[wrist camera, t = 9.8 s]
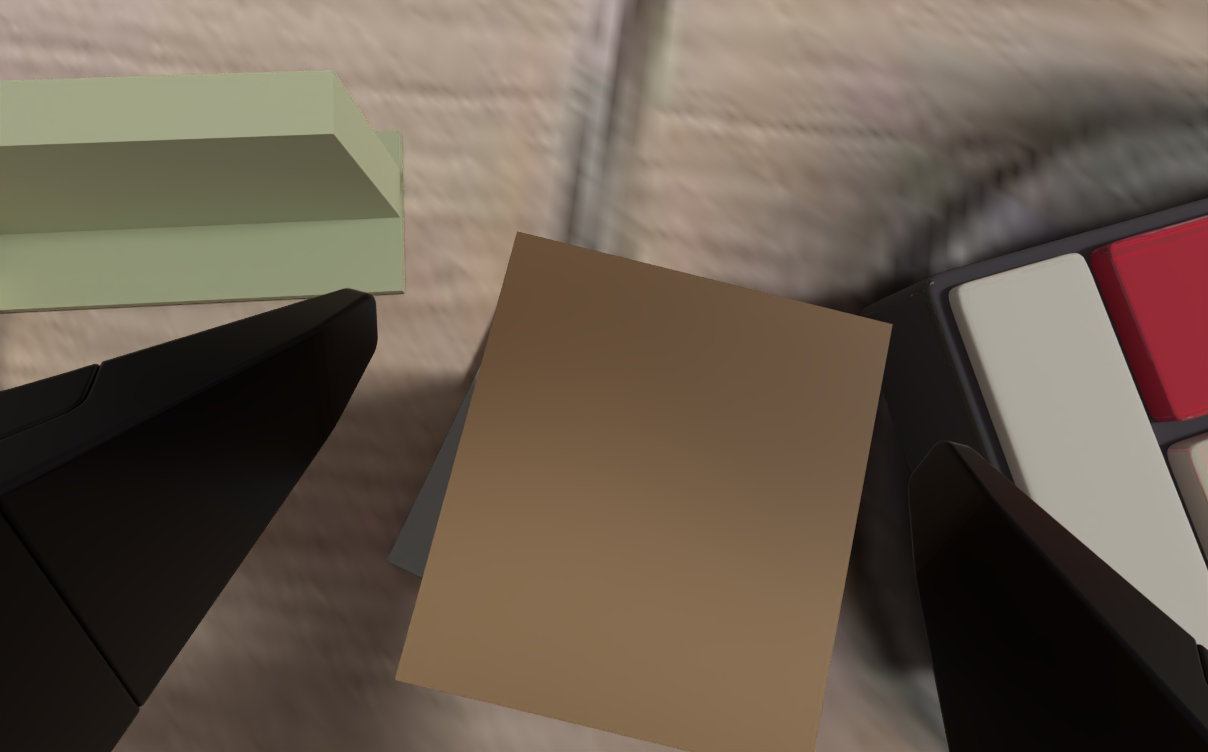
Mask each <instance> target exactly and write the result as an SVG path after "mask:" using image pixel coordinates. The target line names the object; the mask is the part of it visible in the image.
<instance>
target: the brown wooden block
mask: <svg viewBox="0 0 1208 752" xmlns="http://www.w3.org/2000/svg"><path fill="white" fill-rule="evenodd" d="M892 325H893V324H889V323H885V322H881V321H877V320H873V319H869V318H865V317H861V316H857V315H853V314H849V313H845V312H841V311H837V310H833V309H829V308H825V307H821V306H817V305H813V304H809V303H805V302H800V301H796V300H792V299H788V298H784V297H780V296H776V295H772V294H768V293H764V292H760V291H756V290H752V289H748V288H744V287H740V286H736V285H732V284H728V283H724V282H720V281H716V280H712V279H707V278H703V277H699V276H695V275H691V274H687V273H683V272H679V271H675V270H671V269H667V268H663V267H659V266H655V265H651V264H647V263H643V262H639V261H635V260H631V259H627V258H623V257H619V256H615V255H610V254H606V253H602V252H598V251H594V250H590V249H586V248H582V247H578V246H574V245H570V244H566V243H562V242H558V241H554V240H550V239H546V238H542V237H538V236H534V235H530V234H526V233H522V232H517V234H516V238H515V241H514V245H513V249H512V252H511V256H510V260H509V263H508V267H507V271H506V274H505V278H504V282H503V285H502V289H501V293H500V296H499V300H498V304H497V307H496V311H495V315H494V318H493V322H492V326H491V329H490V333H489V337H488V340H487V344H486V348H485V351H484V355H483V359H482V362H481V366H480V369H479V373H478V377H477V380H476V384H475V388H474V391H473V395H472V399H471V402H470V406H469V410H468V413H467V417H466V421H465V424H464V428H463V432H462V435H461V439H460V443H459V446H458V450H457V454H456V457H455V461H454V465H453V468H452V472H451V476H450V479H449V483H448V487H447V490H446V494H445V498H444V501H443V505H442V508H441V512H440V516H439V519H438V523H437V527H436V530H435V534H434V538H433V541H432V545H431V549H430V552H429V556H428V560H427V563H426V567H425V571H424V574H423V578H422V582H421V585H420V589H419V593H418V596H417V600H416V604H415V607H414V611H413V615H412V618H411V622H410V626H409V629H408V633H407V637H406V640H405V644H404V647H403V651H402V655H401V658H400V662H399V666H398V669H397V673H396V677H395V680H397V681H401V682H405V683H410V684H414V685H418V686H422V687H426V688H430V689H434V690H438V691H442V692H447V693H451V694H455V695H459V696H463V697H467V698H471V699H475V700H480V701H484V702H488V703H492V704H496V705H500V706H504V707H508V708H512V709H517V710H521V711H525V712H529V713H533V714H537V715H541V716H545V717H549V718H554V719H558V720H562V721H566V722H570V723H574V724H578V725H582V726H587V727H591V728H595V729H599V730H603V731H607V732H611V733H615V734H619V735H624V736H628V737H632V738H636V739H640V740H644V741H648V742H652V743H657V744H661V745H665V746H669V747H673V748H677V749H681V750H685V751H689V752H814V749H815V744H816V738H817V733H818V727H819V722H820V716H821V711H822V706H823V700H824V695H825V689H826V684H827V678H828V673H829V668H830V662H831V657H832V651H833V646H834V640H835V635H836V629H837V624H838V619H839V613H840V608H841V602H842V597H843V591H844V586H845V581H846V575H847V570H848V564H849V559H850V553H851V548H852V543H853V537H854V532H855V526H856V521H857V515H858V510H859V504H860V499H861V494H862V488H863V483H864V477H865V472H866V466H867V461H868V456H869V450H870V445H871V439H872V434H873V428H874V423H875V417H876V412H877V407H878V401H879V396H880V390H881V385H882V379H883V374H884V369H885V363H886V358H887V352H888V347H889V341H890V336H891V330H892Z"/></svg>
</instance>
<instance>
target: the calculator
mask: <svg viewBox="0 0 1208 752" xmlns="http://www.w3.org/2000/svg"><path fill="white" fill-rule="evenodd" d="M859 316H861V317H865V318H869V319H873V320H877V321H881V322H885V323H889V324H893V325H892V330H891V336H890V341H889V347H888V352H887V358H886V363H885V369H884V374H883V379H882V385H881V387H882V390H883V393H884V396H885V399H886V402H887V405H888V408H889V411H890V413H891V416H892V419H893V422H894V425H895V428H896V431H897V434H898V436H899V439H900V442H901V445H902V448H903V451H904V454H905V457H906V459H907V462H908V465H909V468H910V471H911V474H912V473H913V472H914V470H915V469H916V468H917V466H918V465H919V464H920V463H921V461H922V460H923V459H924V458H925V456H926V455H927V454H928V453H929V451H930V450H931V449H932V447H933V446H934V445H935V444H936V443H938V442H940V441H944V440H947V441H951V442H955V443H959V444H963V445H967V446H969V447H971V448H972V449H973V450H975V451H976V452H977V453H978V454H979V455H981V456H982V457H983V458H984V459H985V460H986V461H988V462H989V463H990V464H991V465H992V466H993V467H995V468H996V469H997V470H998V471H999V472H1000V473H1002V474H1003V475H1004V476H1005V477H1006V478H1007V479H1009V480H1010V481H1011V482H1012V483H1013V484H1014V485H1016V486H1017V487H1018V488H1019V489H1020V490H1021V491H1023V492H1024V493H1025V494H1026V495H1027V496H1028V497H1030V498H1031V499H1032V500H1033V501H1034V502H1035V503H1037V504H1038V505H1039V506H1040V507H1041V508H1043V509H1044V510H1045V511H1046V512H1047V513H1048V514H1050V515H1051V516H1052V517H1053V518H1054V519H1055V520H1057V521H1058V522H1059V523H1060V524H1061V525H1062V526H1064V527H1065V528H1066V529H1067V530H1068V531H1069V532H1071V533H1072V534H1073V535H1074V536H1075V537H1076V538H1078V539H1079V540H1080V541H1081V542H1082V543H1083V544H1085V545H1086V546H1087V547H1088V548H1089V549H1090V550H1092V551H1093V552H1094V553H1095V554H1096V555H1097V556H1099V557H1100V558H1101V559H1102V560H1103V561H1104V562H1106V563H1107V564H1108V565H1109V566H1110V567H1112V568H1113V569H1114V570H1115V571H1116V572H1117V573H1119V574H1120V575H1121V576H1122V577H1123V578H1124V579H1126V580H1127V581H1128V582H1129V583H1130V584H1131V585H1133V586H1134V587H1135V588H1136V589H1137V590H1138V591H1140V592H1141V593H1142V594H1143V595H1144V596H1145V597H1147V598H1148V599H1149V600H1150V601H1151V602H1152V603H1154V604H1155V605H1156V606H1157V607H1158V608H1159V609H1161V610H1162V611H1163V612H1164V613H1165V614H1166V615H1168V616H1169V617H1170V618H1171V619H1172V620H1173V621H1175V622H1176V623H1177V624H1178V625H1179V626H1181V627H1182V628H1183V629H1184V630H1185V631H1186V632H1188V633H1189V634H1190V635H1191V636H1192V637H1193V638H1194V639H1195V640H1196V643H1197V644H1201V645H1203V646H1204V647H1205V648H1206V649H1208V198H1205V199H1202V200H1198V201H1195V202H1191V203H1188V204H1184V205H1180V206H1177V207H1173V208H1170V209H1166V210H1163V211H1159V212H1155V213H1152V214H1148V215H1145V216H1141V217H1138V218H1134V219H1131V220H1127V221H1123V222H1120V223H1116V224H1113V225H1109V226H1106V227H1102V228H1098V229H1095V230H1091V231H1088V232H1084V233H1081V234H1077V235H1074V236H1070V237H1066V238H1063V239H1059V240H1056V241H1052V242H1049V243H1045V244H1041V245H1038V246H1034V247H1031V248H1027V249H1024V250H1020V251H1016V252H1013V253H1009V254H1006V255H1002V256H999V257H995V258H992V259H988V260H984V261H981V262H977V263H974V264H970V265H967V266H963V267H959V268H956V269H952V270H949V271H945V272H942V273H939V274H936V275H933V276H931V277H928V278H926V279H924V280H922V281H920V282H918V283H915V284H913V285H911V286H909V287H907V288H905V289H903V290H900V291H898V292H896V293H894V294H892V295H890V296H887V297H885V298H883V299H881V300H879V301H877V302H875V303H873V304H871V305H869V306H867V307H865V308H864V309H863V310H862V311H861V313H860V315H859Z"/></svg>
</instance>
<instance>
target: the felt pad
mask: <svg viewBox="0 0 1208 752" xmlns="http://www.w3.org/2000/svg"><path fill="white" fill-rule="evenodd" d="M479 369H480V368H479ZM478 373H479V370H478V372H477V374H476V376H475V378H474V380H473V382H472V384H471V386H470V389H469V391H468V393H467V395H466V397H465V399H464V401H463V403H462V405H461V407H460V409H459V411H458V413H457V416H456V418H455V420H454V422H453V424H452V426H451V428H450V430H449V432H448V434H447V436H446V438H445V440H444V443H443V445H442V447H441V449H440V451H439V453H438V455H437V457H436V459H435V461H434V463H433V465H432V468H431V470H430V472H429V474H428V476H427V478H426V480H425V482H424V484H423V486H422V488H421V490H420V492H419V495H418V497H417V499H416V501H415V503H414V505H413V507H412V509H411V511H410V513H409V515H408V517H407V520H406V522H405V524H404V526H403V528H402V530H401V532H400V534H399V536H398V538H397V540H396V542H395V544H394V547H393V549H392V551H391V553H390V555H389V557H388V559H387V562H389V563H391V564H393V565H395V566H398V567H400V568H402V569H404V570H406V571H408V572H411V573H413V574H415V575H417V576H419V577H422V578H423V574H424V571H425V567H426V563H427V560H428V556H429V552H430V549H431V545H432V541H433V538H434V534H435V530H436V527H437V523H438V519H439V516H440V512H441V508H442V505H443V501H444V498H445V494H446V490H447V487H448V483H449V479H450V476H451V472H452V468H453V465H454V461H455V457H456V454H457V450H458V446H459V443H460V439H461V435H462V432H463V428H464V424H465V421H466V417H467V413H468V410H469V406H470V402H471V399H472V395H473V391H474V388H475V384H476V380H477V377H478Z"/></svg>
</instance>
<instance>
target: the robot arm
mask: <svg viewBox="0 0 1208 752" xmlns="http://www.w3.org/2000/svg"><path fill="white" fill-rule="evenodd" d="M377 340H378V333H377V313H376V301H375V298H374V297H373V296H372V295H371V294H370V293H366V292H363V291H359V290H355V289H351V288H344V289H340V290H337V291H334V292H331V293H327V294H324V295H321V296H317V297H314V298H311V299H307V300H304V301H301V302H298V303H294V304H291V305H288V306H284V307H281V308H278V309H274V310H271V311H268V312H265V313H261V314H258V315H255V316H251V317H248V318H245V319H241V320H238V321H235V322H232V323H228V324H225V325H222V326H218V327H215V328H212V329H208V330H205V331H202V332H199V333H195V334H192V335H189V336H185V337H182V338H179V339H175V340H172V341H169V342H166V343H162V344H159V345H156V346H152V347H149V348H146V349H142V350H139V351H136V352H133V353H129V354H126V355H123V356H119V357H116V358H113V359H109V360H106V361H103V362H102V363H101V365H100V366H99V365H98V364H92V365H89V366H86V367H83V368H79V369H76V370H73V371H70V372H67V373H63V374H60V375H56V376H53V377H49V378H46V379H42V380H39V381H35V382H32V383H29V384H25V385H22V386H18V387H15V388H11V389H7V390H4V391H0V752H111V751H112V750H113V749H114V747H115V746H116V744H117V743H118V741H119V740H120V738H121V737H122V736H123V734H124V733H125V731H126V730H127V728H128V727H129V725H130V724H131V723H132V721H133V720H134V718H135V717H136V715H137V714H138V712H139V711H140V708H139V707H140V706H142V705H143V704H144V703H145V702H146V700H147V699H148V697H149V696H150V694H151V693H152V691H153V690H154V689H155V687H156V686H157V684H158V683H159V681H160V680H161V678H162V677H163V676H164V674H165V673H166V671H167V670H168V668H169V667H170V665H171V664H172V663H173V661H174V660H175V658H176V657H177V655H178V654H179V652H180V651H181V650H182V648H183V647H184V645H185V644H186V642H187V641H188V639H189V638H190V637H191V635H192V634H193V632H194V631H195V629H196V628H197V626H198V625H199V624H200V622H201V621H202V619H203V618H204V616H205V615H206V613H207V612H208V610H209V609H210V608H211V606H212V605H213V603H214V602H215V600H216V599H217V597H218V596H219V595H220V593H221V592H222V590H223V589H224V587H225V586H226V584H227V583H228V582H229V580H230V579H231V577H232V576H233V574H234V573H235V571H236V570H237V569H238V567H239V566H240V564H241V563H242V561H243V560H244V558H245V557H246V556H247V554H248V553H249V551H250V550H251V548H252V547H253V545H254V544H255V543H256V541H257V540H258V538H259V537H260V535H261V534H262V532H263V531H264V530H265V528H266V527H267V525H268V524H269V522H270V521H271V519H272V518H273V517H274V515H275V514H276V512H277V511H278V509H279V508H280V506H281V505H282V504H283V502H284V501H285V499H286V498H287V496H288V495H289V493H290V492H291V491H292V489H293V488H294V486H295V485H296V483H297V482H298V480H299V479H300V478H301V476H302V475H303V473H304V472H305V470H306V469H307V467H308V466H309V465H310V463H311V462H312V460H313V459H314V457H315V456H316V454H317V453H318V451H319V450H320V449H321V447H322V446H323V444H324V443H325V441H326V440H327V438H328V437H329V435H330V434H331V432H332V431H333V429H334V428H335V426H336V424H337V422H338V421H339V419H340V417H341V415H342V413H343V411H344V409H345V408H346V406H347V404H348V402H349V400H350V398H351V396H352V394H353V392H354V390H355V388H356V387H357V385H358V383H359V381H360V379H361V377H362V375H363V373H364V371H365V369H366V367H367V365H368V364H369V362H370V360H371V358H372V356H373V354H374V352H375V349H376V346H377ZM908 498H909V511H910V524H911V537H912V550H913V562H914V571H915V578H916V584H917V590H918V595H919V600H920V606H921V611H922V616H923V621H924V626H925V631H926V636H927V641H928V646H929V652H930V657H931V662H932V667H933V672H934V677H935V682H936V687H937V692H938V698H939V703H940V708H941V713H942V718H943V723H944V728H945V733H946V738H947V743H948V749H949V752H1208V649H1206V648H1205V647H1204V646H1203V645H1201V644H1197V643H1196V640H1195V639H1194V638H1193V637H1192V636H1191V635H1190V634H1189V633H1188V632H1186V631H1185V630H1184V629H1183V628H1182V627H1181V626H1179V625H1178V624H1177V623H1176V622H1175V621H1173V620H1172V619H1171V618H1170V617H1169V616H1168V615H1166V614H1165V613H1164V612H1163V611H1162V610H1161V609H1159V608H1158V607H1157V606H1156V605H1155V604H1154V603H1152V602H1151V601H1150V600H1149V599H1148V598H1147V597H1145V596H1144V595H1143V594H1142V593H1141V592H1140V591H1138V590H1137V589H1136V588H1135V587H1134V586H1133V585H1131V584H1130V583H1129V582H1128V581H1127V580H1126V579H1124V578H1123V577H1122V576H1121V575H1120V574H1119V573H1117V572H1116V571H1115V570H1114V569H1113V568H1112V567H1110V566H1109V565H1108V564H1107V563H1106V562H1104V561H1103V560H1102V559H1101V558H1100V557H1099V556H1097V555H1096V554H1095V553H1094V552H1093V551H1092V550H1090V549H1089V548H1088V547H1087V546H1086V545H1085V544H1083V543H1082V542H1081V541H1080V540H1079V539H1078V538H1076V537H1075V536H1074V535H1073V534H1072V533H1071V532H1069V531H1068V530H1067V529H1066V528H1065V527H1064V526H1062V525H1061V524H1060V523H1059V522H1058V521H1057V520H1055V519H1054V518H1053V517H1052V516H1051V515H1050V514H1048V513H1047V512H1046V511H1045V510H1044V509H1043V508H1041V507H1040V506H1039V505H1038V504H1037V503H1035V502H1034V501H1033V500H1032V499H1031V498H1030V497H1028V496H1027V495H1026V494H1025V493H1024V492H1023V491H1021V490H1020V489H1019V488H1018V487H1017V486H1016V485H1014V484H1013V483H1012V482H1011V481H1010V480H1009V479H1007V478H1006V477H1005V476H1004V475H1003V474H1002V473H1000V472H999V471H998V470H997V469H996V468H995V467H993V466H992V465H991V464H990V463H989V462H988V461H986V460H985V459H984V458H983V457H982V456H981V455H979V454H978V453H977V452H976V451H975V450H973V449H972V448H971V447H969V446H967V445H963V444H959V443H955V442H951V441H947V440H944V441H940V442H938V443H936V444H935V445H934V446H933V447H932V449H931V450H930V451H929V453H928V454H927V455H926V456H925V458H924V459H923V460H922V461H921V463H920V464H919V465H918V466H917V468H916V469H915V470H914V472H913V473H912V475H911V477H910V479H909V482H908Z"/></svg>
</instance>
